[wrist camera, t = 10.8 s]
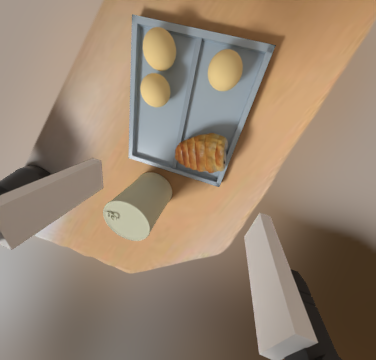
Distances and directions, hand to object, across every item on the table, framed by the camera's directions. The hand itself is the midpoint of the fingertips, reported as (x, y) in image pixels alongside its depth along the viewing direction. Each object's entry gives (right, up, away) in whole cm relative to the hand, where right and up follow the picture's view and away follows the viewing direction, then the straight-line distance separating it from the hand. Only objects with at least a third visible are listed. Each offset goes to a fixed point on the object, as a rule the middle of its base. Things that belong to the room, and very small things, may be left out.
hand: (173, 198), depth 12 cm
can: (-7, -1, +24) cm, 25 cm away
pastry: (+4, +7, +15) cm, 17 cm away
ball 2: (-3, +17, +13) cm, 21 cm away
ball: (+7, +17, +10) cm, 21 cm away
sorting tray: (+1, +13, +15) cm, 20 cm away
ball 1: (-2, +21, +11) cm, 23 cm away
